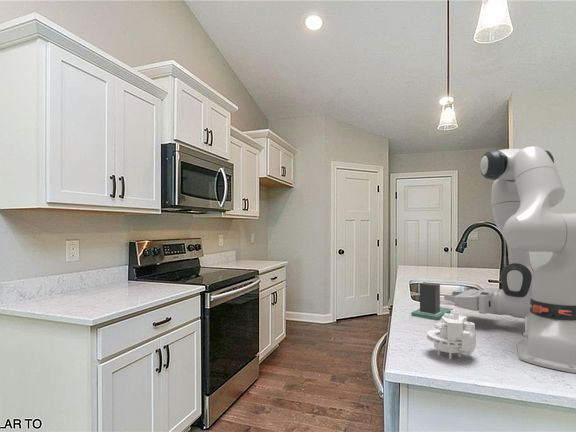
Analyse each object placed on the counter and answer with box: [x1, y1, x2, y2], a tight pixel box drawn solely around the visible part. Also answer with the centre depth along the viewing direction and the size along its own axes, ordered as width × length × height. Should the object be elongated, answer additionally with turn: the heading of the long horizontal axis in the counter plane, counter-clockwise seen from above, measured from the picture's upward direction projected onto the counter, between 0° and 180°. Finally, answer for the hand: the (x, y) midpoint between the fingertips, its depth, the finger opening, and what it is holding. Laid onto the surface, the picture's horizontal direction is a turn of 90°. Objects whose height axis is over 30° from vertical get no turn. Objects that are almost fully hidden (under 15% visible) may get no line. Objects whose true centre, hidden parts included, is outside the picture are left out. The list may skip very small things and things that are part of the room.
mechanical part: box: [426, 309, 477, 360], centre depth 95 cm, size 11×12×12 cm
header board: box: [410, 306, 453, 321], centre depth 140 cm, size 18×10×3 cm, turn 138°
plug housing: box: [419, 281, 441, 314], centre depth 138 cm, size 5×6×11 cm
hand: (448, 295), depth 133 cm, fingers open, 8 cm apart
